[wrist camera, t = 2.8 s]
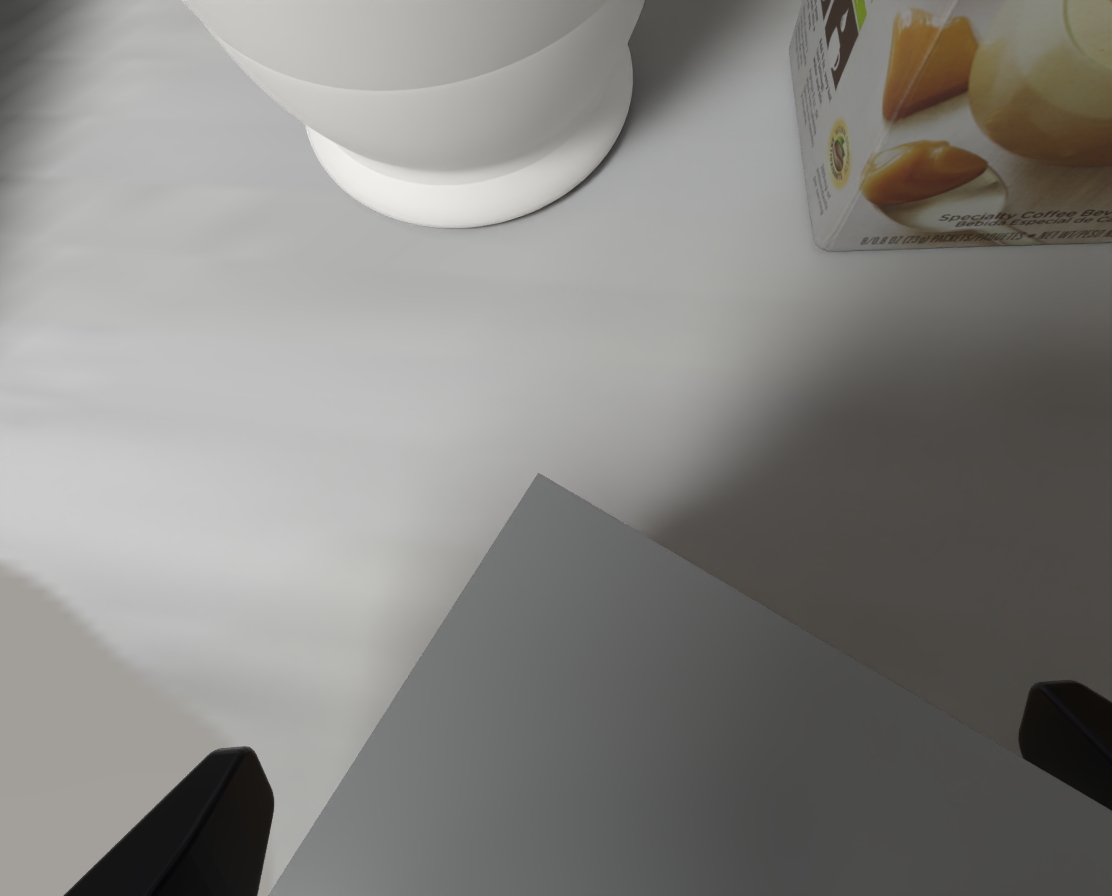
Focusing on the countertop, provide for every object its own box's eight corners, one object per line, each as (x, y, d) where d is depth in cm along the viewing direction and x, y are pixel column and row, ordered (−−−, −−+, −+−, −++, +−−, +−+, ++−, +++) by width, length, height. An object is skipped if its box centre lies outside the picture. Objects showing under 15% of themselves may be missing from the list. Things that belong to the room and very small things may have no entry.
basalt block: (709, 1111, 10) (899, 2022, 3) (405, 878, 11) (71, 1202, 4) (877, 764, 11) (1289, 915, 4) (583, 583, 12) (538, 472, 5)
